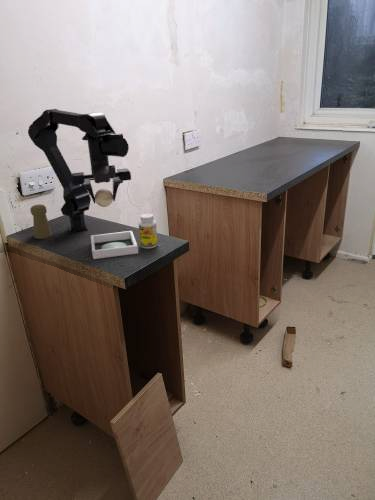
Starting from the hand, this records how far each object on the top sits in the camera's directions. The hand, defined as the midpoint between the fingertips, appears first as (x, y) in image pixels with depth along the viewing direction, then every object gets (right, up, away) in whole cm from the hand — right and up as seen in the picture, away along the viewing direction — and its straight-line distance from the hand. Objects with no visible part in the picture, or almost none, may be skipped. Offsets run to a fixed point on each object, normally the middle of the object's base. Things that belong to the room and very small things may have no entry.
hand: (104, 202), depth 133 cm
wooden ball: (0, -1, +1) cm, 2 cm away
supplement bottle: (+15, -15, -5) cm, 22 cm away
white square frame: (+4, -15, -6) cm, 17 cm away
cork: (-23, -11, +6) cm, 26 cm away
